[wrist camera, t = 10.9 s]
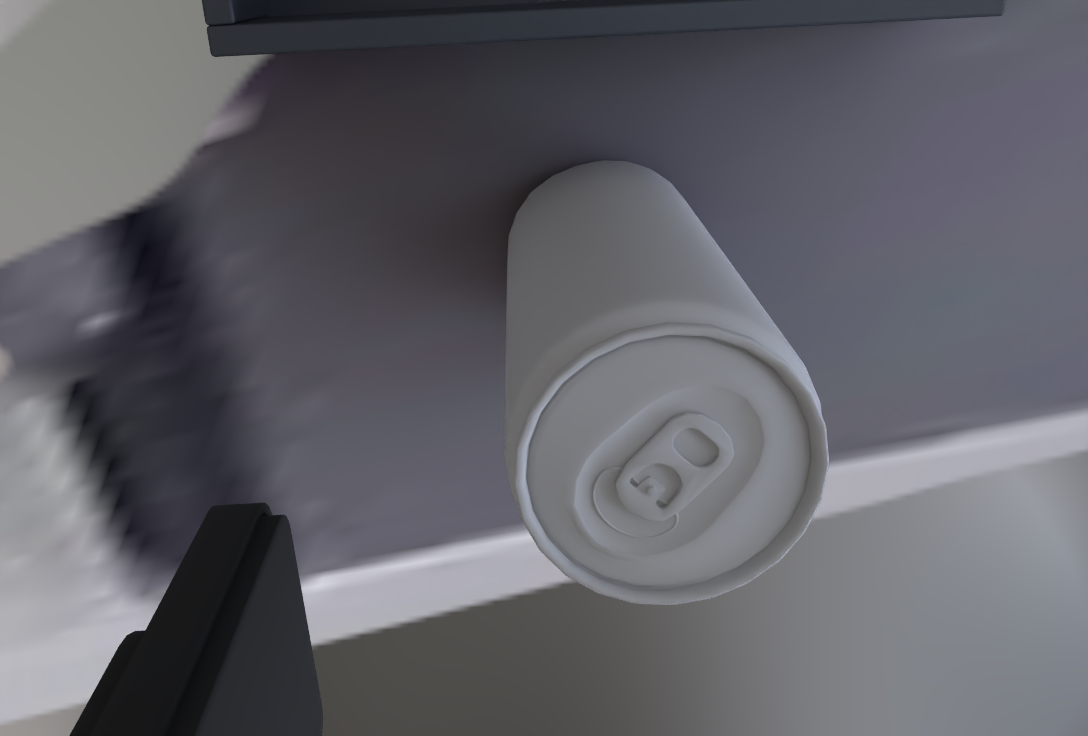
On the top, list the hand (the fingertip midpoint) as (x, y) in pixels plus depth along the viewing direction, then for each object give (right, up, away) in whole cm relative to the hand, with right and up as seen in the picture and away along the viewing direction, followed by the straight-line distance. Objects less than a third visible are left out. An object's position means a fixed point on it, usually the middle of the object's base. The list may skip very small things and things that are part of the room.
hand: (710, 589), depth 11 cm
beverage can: (0, +6, +14) cm, 16 cm away
